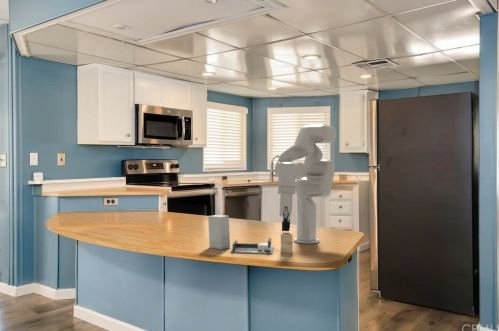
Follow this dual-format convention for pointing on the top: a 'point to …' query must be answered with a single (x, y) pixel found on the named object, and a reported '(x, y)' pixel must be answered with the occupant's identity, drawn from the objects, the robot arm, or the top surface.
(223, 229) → the skincare box
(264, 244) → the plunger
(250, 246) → the gauge base
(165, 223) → the top surface
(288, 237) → the beech block
